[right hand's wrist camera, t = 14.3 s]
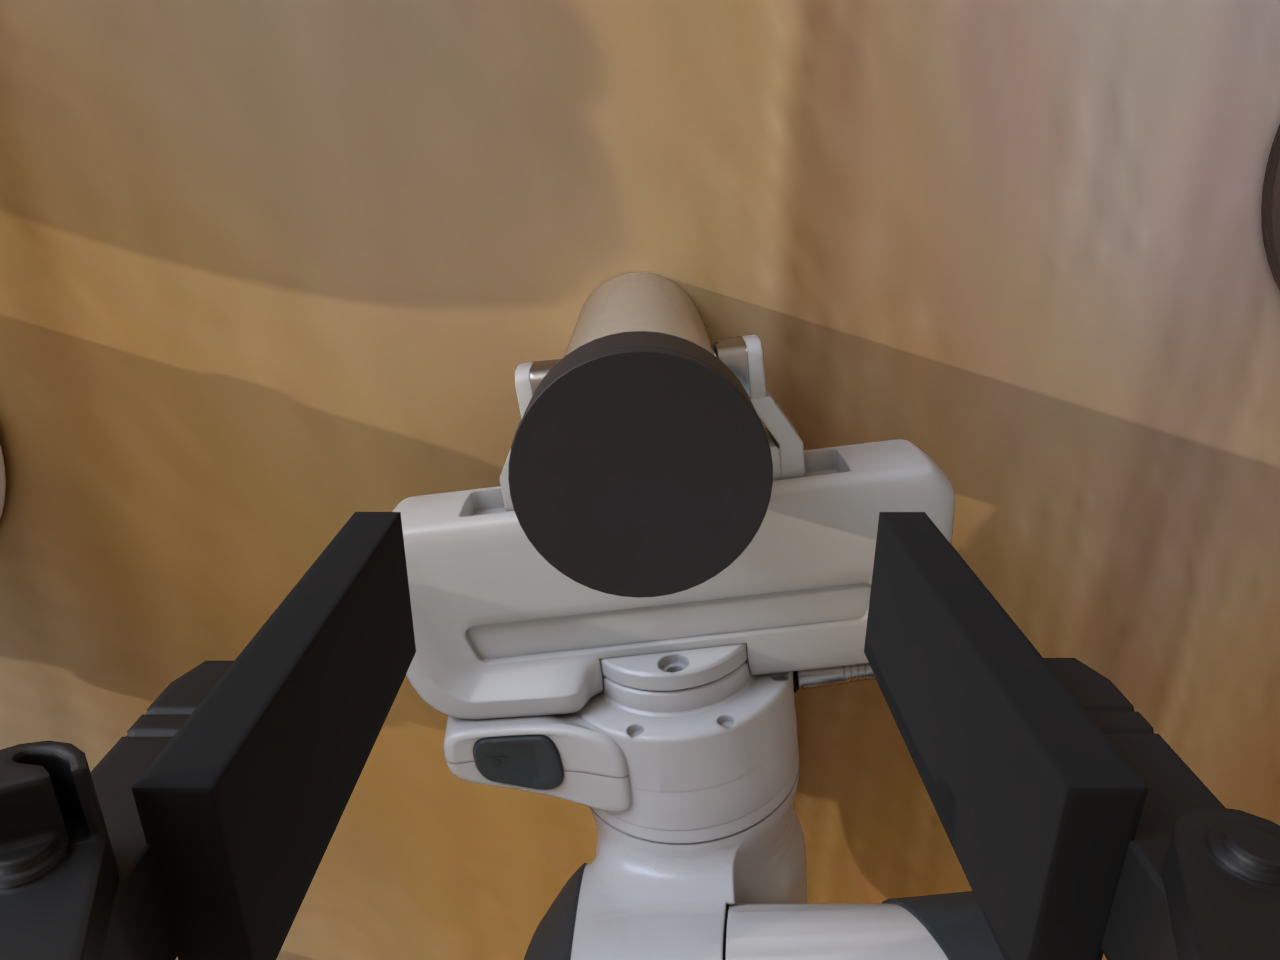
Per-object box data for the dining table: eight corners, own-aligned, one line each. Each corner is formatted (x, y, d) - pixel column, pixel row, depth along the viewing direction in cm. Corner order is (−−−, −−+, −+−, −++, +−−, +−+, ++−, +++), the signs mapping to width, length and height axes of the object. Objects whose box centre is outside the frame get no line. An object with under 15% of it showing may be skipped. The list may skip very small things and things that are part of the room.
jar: (641, 244, 33) (643, 313, 18) (730, 338, 34) (800, 476, 19) (549, 336, 34) (480, 472, 19) (638, 424, 36) (637, 614, 21)
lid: (643, 277, 19) (643, 291, 17) (809, 451, 21) (827, 484, 19) (471, 447, 21) (452, 479, 19) (638, 598, 22) (637, 643, 20)
